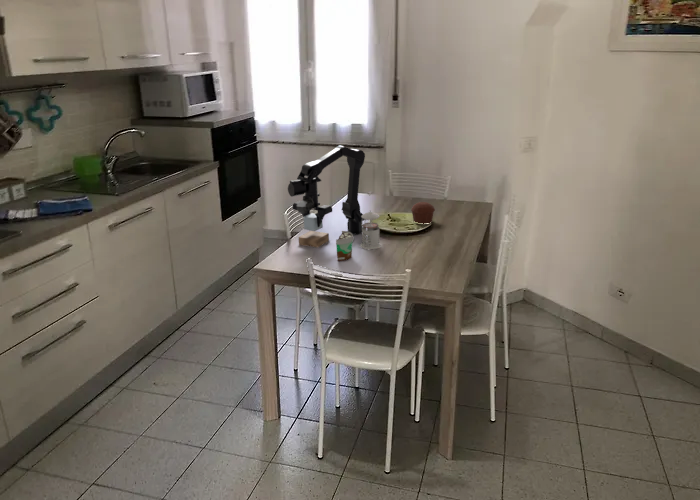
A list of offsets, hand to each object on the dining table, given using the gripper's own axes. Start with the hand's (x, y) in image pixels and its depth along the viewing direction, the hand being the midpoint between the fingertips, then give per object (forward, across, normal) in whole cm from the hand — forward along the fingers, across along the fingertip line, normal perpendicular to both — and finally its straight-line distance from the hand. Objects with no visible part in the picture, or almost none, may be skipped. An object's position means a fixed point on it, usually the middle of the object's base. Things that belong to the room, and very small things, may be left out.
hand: (313, 225), depth 263 cm
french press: (+8, +24, +10) cm, 27 cm away
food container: (+8, +24, -8) cm, 27 cm away
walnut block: (+8, 0, 0) cm, 9 cm away
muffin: (+8, +29, +51) cm, 59 cm away
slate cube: (+1, 0, 0) cm, 1 cm away
